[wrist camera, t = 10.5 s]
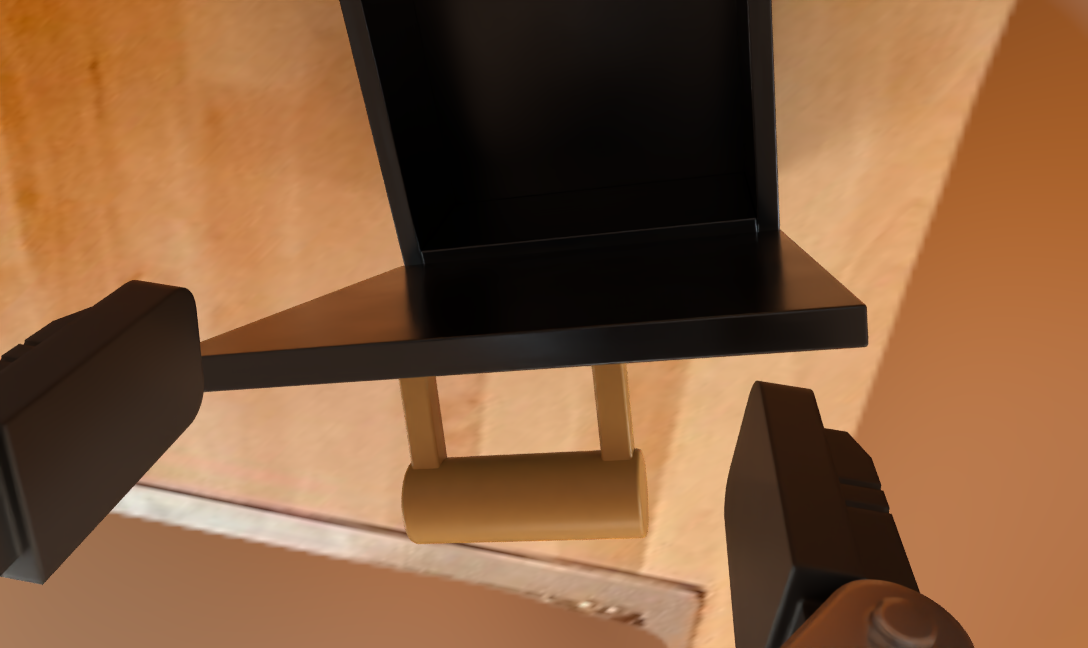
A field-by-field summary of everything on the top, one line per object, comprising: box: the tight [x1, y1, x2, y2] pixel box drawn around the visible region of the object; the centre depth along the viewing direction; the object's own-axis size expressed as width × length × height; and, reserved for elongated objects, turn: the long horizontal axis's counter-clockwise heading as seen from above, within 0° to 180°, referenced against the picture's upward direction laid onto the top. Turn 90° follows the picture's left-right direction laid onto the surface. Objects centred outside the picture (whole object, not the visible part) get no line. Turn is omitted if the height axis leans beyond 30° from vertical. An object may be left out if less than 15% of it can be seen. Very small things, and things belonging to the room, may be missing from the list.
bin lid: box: [200, 230, 868, 544], centre depth 24 cm, size 16×15×5 cm
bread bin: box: [339, 0, 780, 266], centre depth 32 cm, size 15×15×7 cm
